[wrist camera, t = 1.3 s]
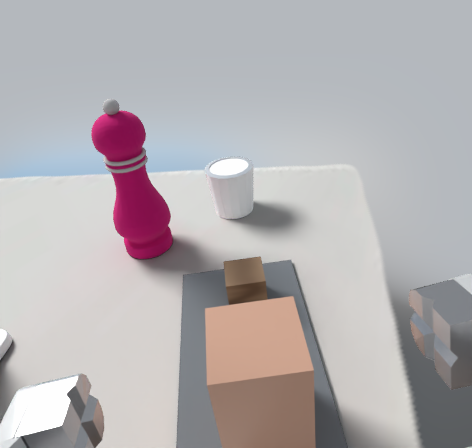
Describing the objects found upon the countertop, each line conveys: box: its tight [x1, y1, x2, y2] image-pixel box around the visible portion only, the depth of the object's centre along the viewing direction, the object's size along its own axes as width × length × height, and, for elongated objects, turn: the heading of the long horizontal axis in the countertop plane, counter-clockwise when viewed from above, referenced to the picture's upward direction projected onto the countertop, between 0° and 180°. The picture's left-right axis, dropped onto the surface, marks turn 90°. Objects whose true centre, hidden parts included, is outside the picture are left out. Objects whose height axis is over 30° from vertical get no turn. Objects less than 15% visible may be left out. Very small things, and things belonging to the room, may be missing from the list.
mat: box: [176, 260, 348, 448], centre depth 41 cm, size 24×13×1 cm, turn 4°
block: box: [224, 257, 268, 305], centre depth 45 cm, size 4×4×4 cm
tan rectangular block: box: [205, 296, 316, 448], centre depth 31 cm, size 7×7×10 cm
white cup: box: [205, 157, 253, 219], centre depth 61 cm, size 7×7×7 cm
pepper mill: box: [92, 99, 173, 259], centre depth 52 cm, size 7×7×20 cm
